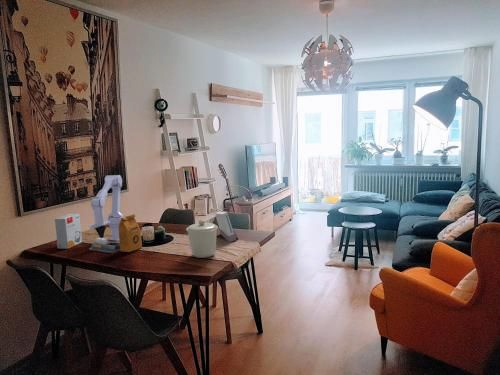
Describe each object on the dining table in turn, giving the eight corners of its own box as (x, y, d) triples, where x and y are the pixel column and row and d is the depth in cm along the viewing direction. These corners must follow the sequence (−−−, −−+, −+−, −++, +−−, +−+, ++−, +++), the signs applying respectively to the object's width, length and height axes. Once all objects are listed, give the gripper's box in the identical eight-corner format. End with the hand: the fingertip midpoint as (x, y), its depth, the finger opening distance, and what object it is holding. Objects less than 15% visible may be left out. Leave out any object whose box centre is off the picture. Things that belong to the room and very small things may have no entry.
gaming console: (240, 240, 250) (233, 211, 246) (229, 244, 248) (222, 215, 244) (230, 231, 272) (222, 205, 267) (220, 235, 270) (212, 208, 265)
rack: (103, 244, 255) (103, 239, 254) (126, 247, 246) (126, 242, 245) (89, 249, 244) (88, 244, 244) (112, 253, 235) (111, 247, 235)
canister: (190, 262, 213) (187, 225, 210) (186, 252, 231) (183, 218, 227) (222, 257, 218) (220, 221, 215) (216, 248, 236) (214, 215, 232)
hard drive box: (67, 249, 248) (64, 219, 245) (57, 248, 250) (53, 218, 246) (82, 241, 263) (79, 213, 260) (72, 241, 265) (69, 213, 261)
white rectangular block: (100, 245, 250) (99, 237, 249) (107, 246, 247) (107, 238, 246) (96, 246, 247) (95, 238, 247) (104, 247, 244) (103, 239, 244)
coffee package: (144, 248, 243) (141, 214, 239) (129, 254, 232) (125, 218, 229) (133, 246, 248) (130, 212, 245) (118, 251, 238) (114, 217, 234)
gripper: (103, 214, 252) (105, 234, 254) (85, 219, 239) (87, 240, 242) (111, 214, 249) (113, 235, 251) (93, 220, 236) (95, 241, 238)
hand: (101, 237), depth 246 cm, fingers closed
